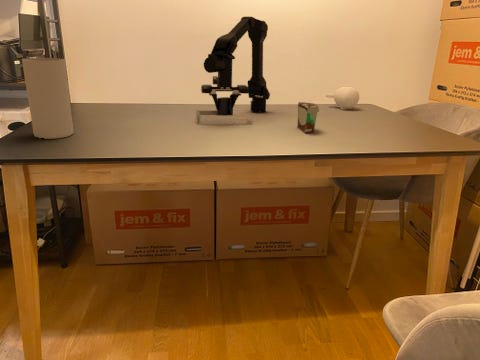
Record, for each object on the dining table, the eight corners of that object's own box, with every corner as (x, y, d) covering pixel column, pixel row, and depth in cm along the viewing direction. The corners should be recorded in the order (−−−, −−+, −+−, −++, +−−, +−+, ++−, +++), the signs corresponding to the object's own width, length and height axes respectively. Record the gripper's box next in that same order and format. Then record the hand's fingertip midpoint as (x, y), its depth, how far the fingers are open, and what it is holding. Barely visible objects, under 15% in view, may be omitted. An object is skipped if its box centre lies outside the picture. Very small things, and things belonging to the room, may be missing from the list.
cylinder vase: (50, 141, 129) (38, 61, 120) (25, 136, 135) (13, 59, 126) (81, 134, 139) (73, 59, 130) (57, 129, 145) (48, 57, 136)
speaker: (237, 119, 166) (238, 94, 163) (231, 121, 162) (231, 95, 158) (221, 117, 170) (222, 92, 166) (215, 119, 165) (215, 94, 161)
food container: (321, 134, 148) (324, 107, 145) (305, 134, 147) (308, 107, 144) (310, 126, 160) (313, 101, 156) (296, 127, 159) (298, 101, 155)
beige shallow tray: (247, 117, 173) (247, 109, 172) (252, 124, 161) (252, 115, 160) (196, 118, 170) (196, 110, 168) (197, 124, 158) (197, 115, 157)
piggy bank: (359, 113, 198) (338, 110, 210) (366, 90, 196) (345, 88, 209) (342, 107, 191) (321, 105, 204) (349, 83, 190) (328, 82, 202)
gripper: (244, 69, 167) (243, 106, 173) (200, 69, 164) (200, 106, 170) (249, 72, 157) (248, 111, 162) (202, 71, 154) (202, 111, 160)
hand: (224, 110), depth 164 cm, fingers closed on speaker, 5 cm apart
